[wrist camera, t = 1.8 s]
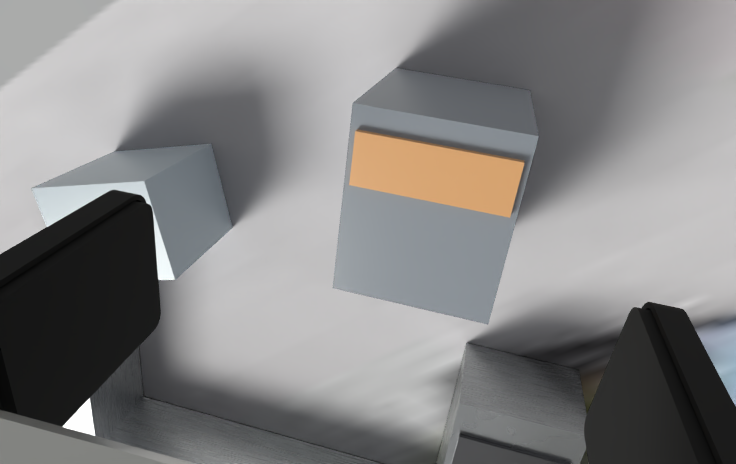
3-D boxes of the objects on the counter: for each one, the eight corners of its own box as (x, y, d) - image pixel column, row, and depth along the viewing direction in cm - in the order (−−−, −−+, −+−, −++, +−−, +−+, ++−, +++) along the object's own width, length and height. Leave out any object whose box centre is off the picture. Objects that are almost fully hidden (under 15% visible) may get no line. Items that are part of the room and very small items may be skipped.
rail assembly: (590, 372, 24) (605, 444, 20) (525, 537, 29) (528, 618, 25) (36, 239, 28) (-35, 279, 25) (64, 403, 33) (9, 456, 30)
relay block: (211, 143, 24) (144, 180, 19) (233, 227, 25) (175, 279, 21) (115, 150, 25) (31, 188, 21) (141, 230, 27) (68, 280, 22)
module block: (530, 89, 20) (539, 138, 14) (493, 235, 22) (487, 327, 17) (396, 67, 21) (350, 104, 15) (375, 211, 23) (330, 291, 17)
